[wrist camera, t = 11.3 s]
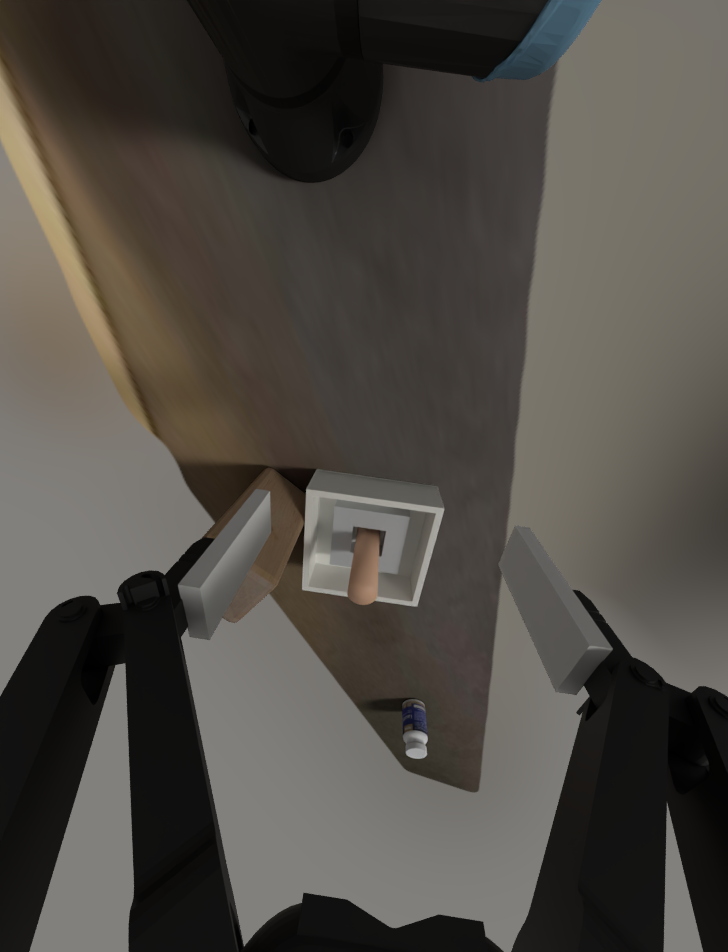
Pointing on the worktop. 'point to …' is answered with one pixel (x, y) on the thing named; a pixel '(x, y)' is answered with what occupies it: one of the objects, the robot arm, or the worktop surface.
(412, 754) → the pill bottle
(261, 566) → the wooden block
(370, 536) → the peg
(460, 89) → the worktop surface
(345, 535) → the tub
